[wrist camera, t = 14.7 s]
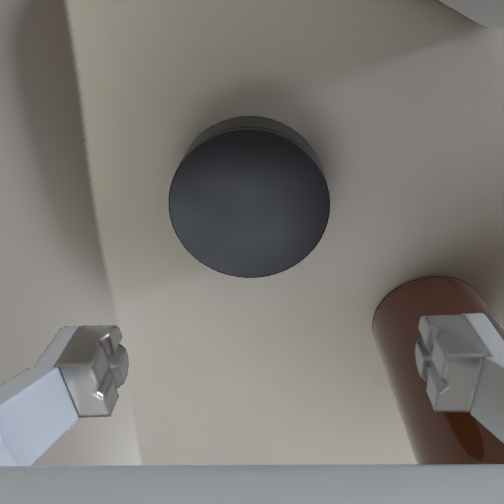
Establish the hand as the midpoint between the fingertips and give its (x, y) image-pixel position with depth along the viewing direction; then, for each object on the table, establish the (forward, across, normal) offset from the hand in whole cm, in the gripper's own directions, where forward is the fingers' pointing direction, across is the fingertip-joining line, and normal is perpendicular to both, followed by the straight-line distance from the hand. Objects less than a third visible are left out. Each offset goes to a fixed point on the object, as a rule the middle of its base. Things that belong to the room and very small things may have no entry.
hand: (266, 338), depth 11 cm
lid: (+7, +1, -1) cm, 7 cm away
